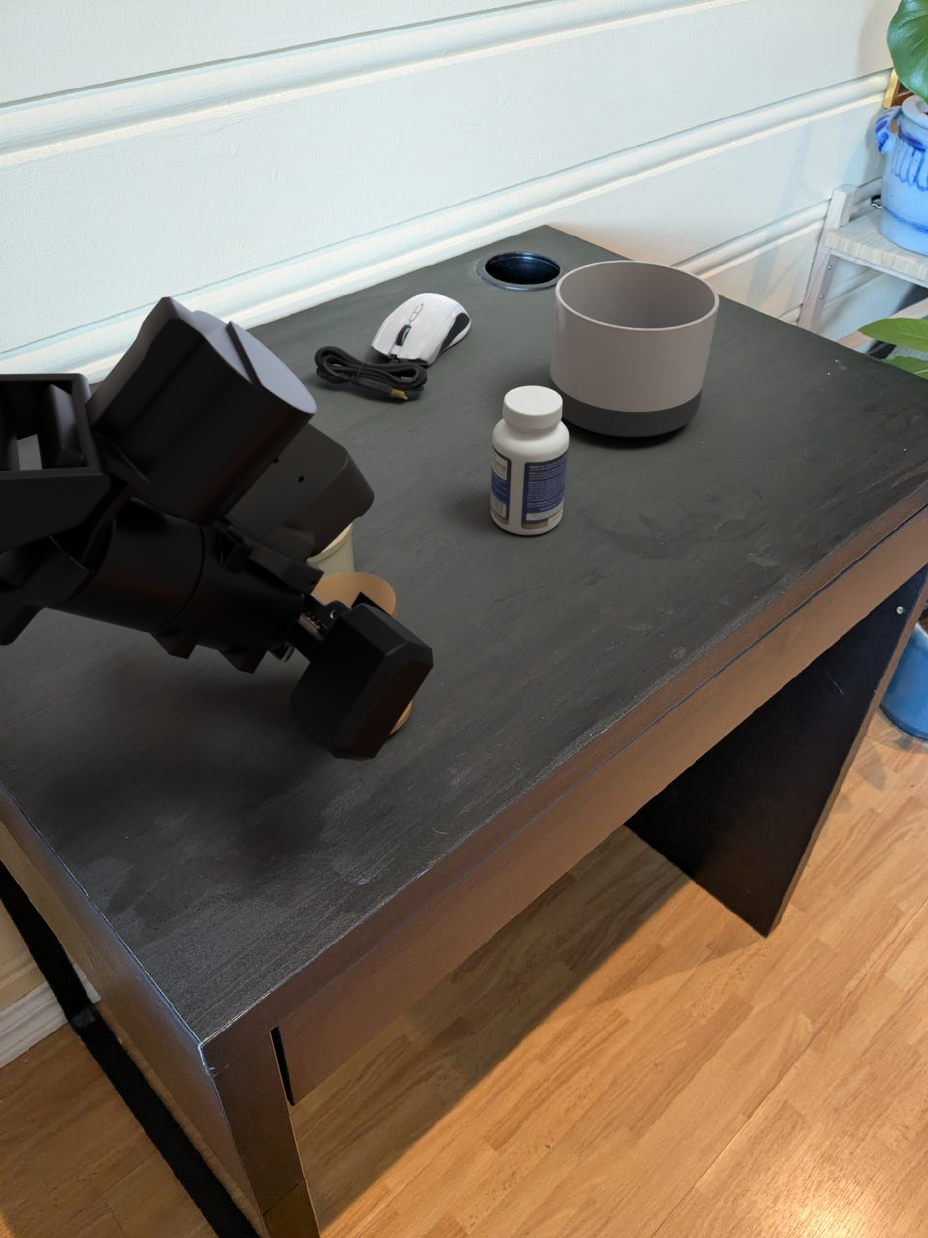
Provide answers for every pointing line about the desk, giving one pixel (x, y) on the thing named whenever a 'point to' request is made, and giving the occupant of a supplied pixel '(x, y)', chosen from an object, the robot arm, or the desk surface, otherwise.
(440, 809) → the desk surface
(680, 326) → the planter
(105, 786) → the desk surface
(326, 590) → the flanged wooden cylinder
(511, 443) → the pill bottle
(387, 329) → the computer mouse
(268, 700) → the desk surface
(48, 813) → the desk surface
